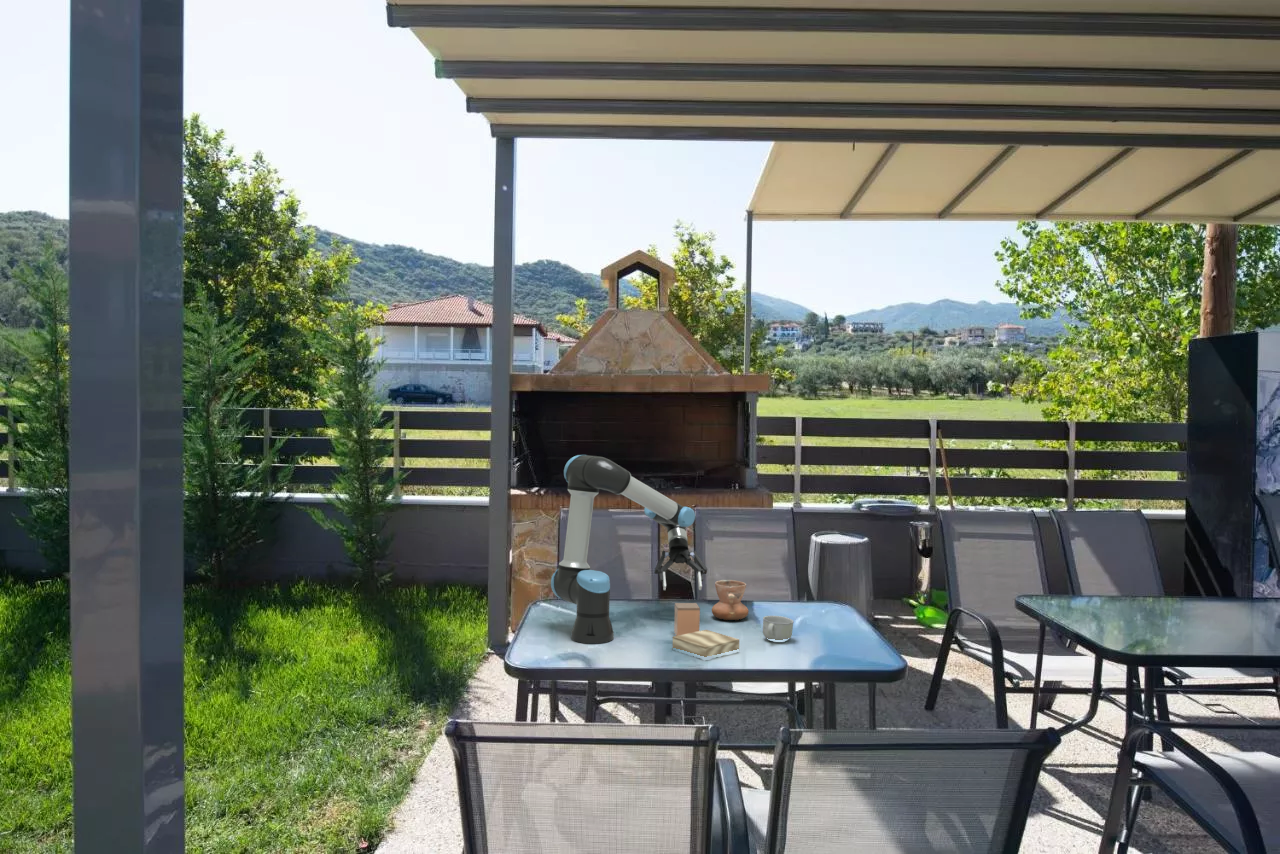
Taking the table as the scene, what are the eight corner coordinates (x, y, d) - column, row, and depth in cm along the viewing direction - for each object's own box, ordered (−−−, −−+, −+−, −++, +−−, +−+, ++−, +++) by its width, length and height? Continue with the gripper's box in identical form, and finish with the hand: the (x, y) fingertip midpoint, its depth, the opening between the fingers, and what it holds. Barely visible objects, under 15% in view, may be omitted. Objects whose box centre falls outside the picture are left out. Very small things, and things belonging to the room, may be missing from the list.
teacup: (772, 635, 321) (772, 613, 321) (798, 640, 314) (799, 618, 314) (752, 642, 310) (752, 620, 310) (778, 648, 303) (779, 625, 303)
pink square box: (677, 638, 314) (677, 608, 314) (674, 632, 322) (674, 603, 322) (699, 638, 315) (699, 608, 315) (695, 632, 323) (696, 603, 322)
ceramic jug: (749, 624, 337) (750, 587, 336) (711, 623, 337) (712, 586, 337) (746, 613, 354) (747, 578, 354) (711, 612, 355) (711, 577, 355)
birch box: (705, 662, 287) (705, 647, 287) (672, 651, 299) (672, 636, 299) (739, 654, 297) (739, 639, 297) (705, 643, 309) (706, 629, 309)
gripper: (708, 548, 349) (714, 593, 334) (645, 547, 346) (649, 593, 332) (710, 536, 343) (716, 582, 329) (647, 536, 341) (650, 582, 326)
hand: (682, 588), depth 330 cm, fingers open, 13 cm apart
